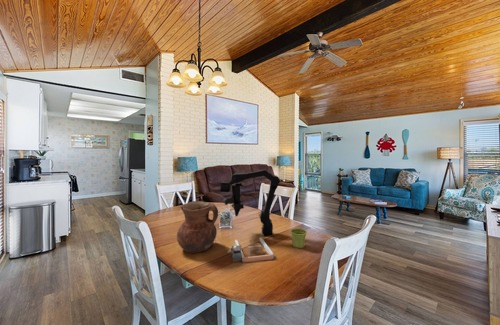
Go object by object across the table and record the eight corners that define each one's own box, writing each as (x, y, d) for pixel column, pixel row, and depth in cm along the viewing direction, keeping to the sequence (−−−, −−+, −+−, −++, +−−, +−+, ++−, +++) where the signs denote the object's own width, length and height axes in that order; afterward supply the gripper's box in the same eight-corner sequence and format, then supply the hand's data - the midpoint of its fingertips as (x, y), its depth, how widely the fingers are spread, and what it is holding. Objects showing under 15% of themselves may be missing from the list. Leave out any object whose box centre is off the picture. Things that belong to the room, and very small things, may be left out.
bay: (261, 240, 132) (261, 237, 132) (274, 258, 110) (274, 254, 110) (235, 243, 129) (235, 239, 128) (242, 262, 106) (242, 258, 106)
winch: (240, 256, 112) (240, 243, 112) (242, 262, 107) (242, 248, 106) (226, 258, 110) (226, 245, 110) (228, 263, 105) (228, 250, 105)
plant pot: (297, 251, 119) (297, 235, 118) (286, 244, 127) (287, 230, 127) (310, 247, 123) (310, 232, 123) (299, 241, 131) (299, 227, 131)
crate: (259, 250, 119) (259, 242, 119) (262, 255, 113) (262, 247, 113) (247, 251, 117) (247, 244, 117) (249, 257, 112) (249, 248, 111)
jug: (178, 260, 109) (178, 210, 107) (175, 243, 128) (174, 201, 127) (221, 251, 117) (221, 206, 116) (212, 237, 137) (212, 198, 135)
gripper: (222, 190, 149) (222, 213, 150) (225, 196, 131) (225, 221, 131) (238, 190, 151) (238, 212, 152) (243, 195, 133) (243, 220, 134)
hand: (236, 216), depth 142 cm, fingers closed
